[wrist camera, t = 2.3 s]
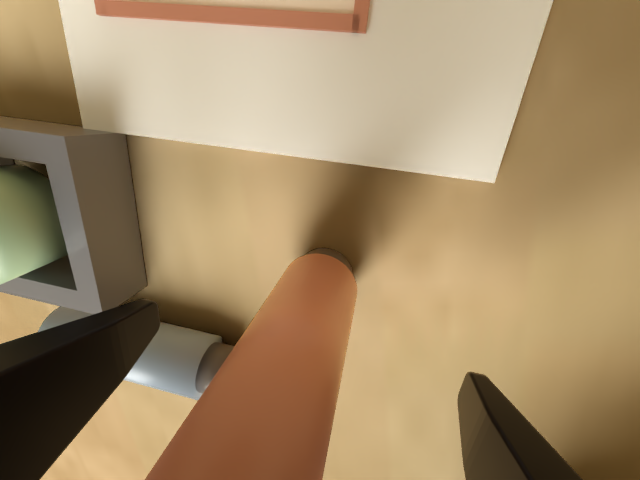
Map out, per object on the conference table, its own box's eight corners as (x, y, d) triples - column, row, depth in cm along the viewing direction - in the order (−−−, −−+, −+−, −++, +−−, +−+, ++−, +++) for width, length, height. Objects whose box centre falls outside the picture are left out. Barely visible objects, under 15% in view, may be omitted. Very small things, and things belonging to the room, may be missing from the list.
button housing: (125, 132, 12) (63, 136, 10) (147, 285, 15) (103, 316, 13) (-19, 113, 13) (-104, 113, 11) (26, 259, 16) (-35, 283, 14)
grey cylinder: (250, 337, 16) (227, 347, 13) (238, 394, 15) (211, 417, 13) (97, 301, 17) (46, 303, 14) (82, 353, 17) (27, 365, 14)
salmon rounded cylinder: (365, 247, 12) (307, 546, 4) (354, 308, 13) (293, 642, 5) (294, 235, 12) (101, 478, 4) (290, 295, 13) (132, 580, 5)
